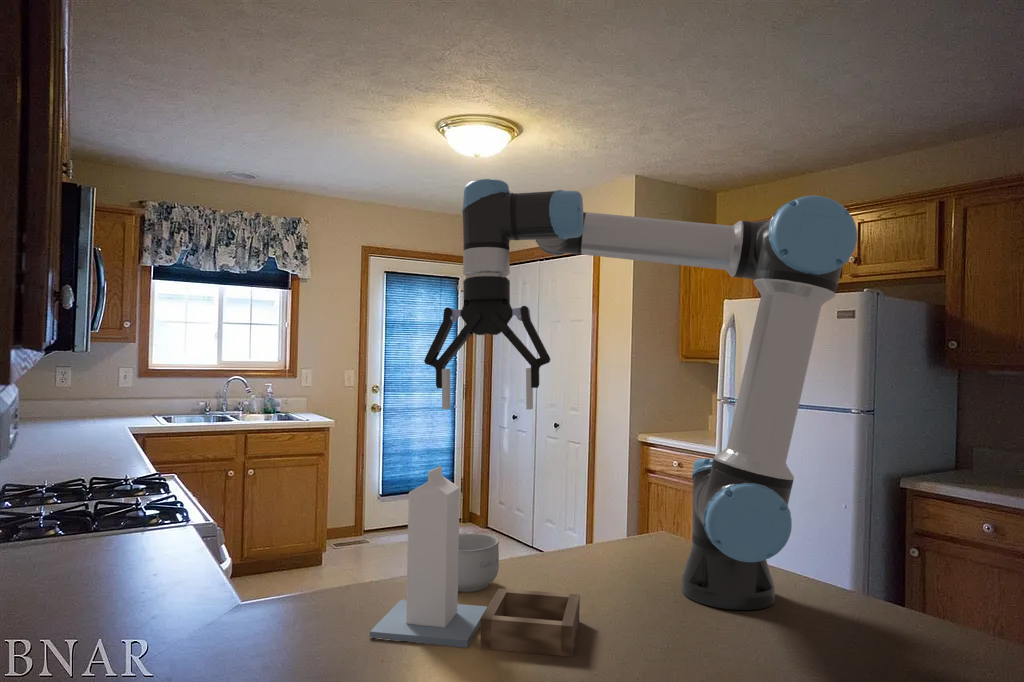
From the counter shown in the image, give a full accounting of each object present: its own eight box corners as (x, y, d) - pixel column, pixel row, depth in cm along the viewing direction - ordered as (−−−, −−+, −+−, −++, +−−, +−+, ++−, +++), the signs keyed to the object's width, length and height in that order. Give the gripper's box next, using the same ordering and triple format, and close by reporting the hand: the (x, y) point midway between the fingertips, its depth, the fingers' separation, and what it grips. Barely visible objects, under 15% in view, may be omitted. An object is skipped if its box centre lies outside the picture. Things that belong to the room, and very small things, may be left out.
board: (487, 613, 105) (487, 606, 105) (467, 647, 92) (467, 640, 92) (400, 605, 107) (401, 599, 107) (369, 638, 94) (369, 631, 94)
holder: (579, 621, 102) (579, 594, 102) (572, 656, 90) (572, 626, 90) (498, 614, 104) (498, 588, 104) (480, 648, 92) (480, 618, 92)
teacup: (490, 599, 111) (491, 550, 111) (427, 594, 113) (428, 545, 113) (507, 573, 124) (508, 530, 125) (451, 569, 127) (451, 526, 127)
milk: (405, 624, 97) (407, 470, 98) (420, 609, 103) (422, 464, 104) (446, 628, 96) (447, 472, 97) (458, 612, 102) (460, 466, 103)
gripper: (565, 278, 112) (566, 407, 111) (418, 282, 115) (418, 407, 114) (562, 272, 104) (563, 410, 104) (405, 276, 108) (405, 410, 107)
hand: (487, 409), depth 109 cm, fingers open, 13 cm apart
